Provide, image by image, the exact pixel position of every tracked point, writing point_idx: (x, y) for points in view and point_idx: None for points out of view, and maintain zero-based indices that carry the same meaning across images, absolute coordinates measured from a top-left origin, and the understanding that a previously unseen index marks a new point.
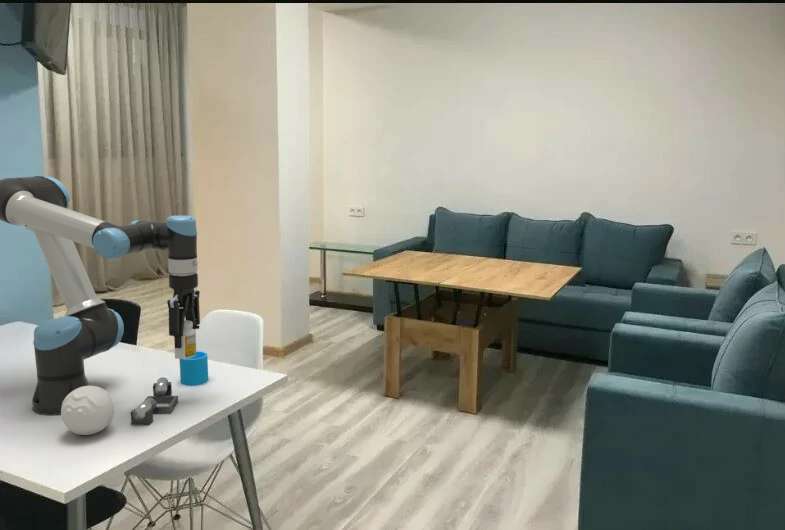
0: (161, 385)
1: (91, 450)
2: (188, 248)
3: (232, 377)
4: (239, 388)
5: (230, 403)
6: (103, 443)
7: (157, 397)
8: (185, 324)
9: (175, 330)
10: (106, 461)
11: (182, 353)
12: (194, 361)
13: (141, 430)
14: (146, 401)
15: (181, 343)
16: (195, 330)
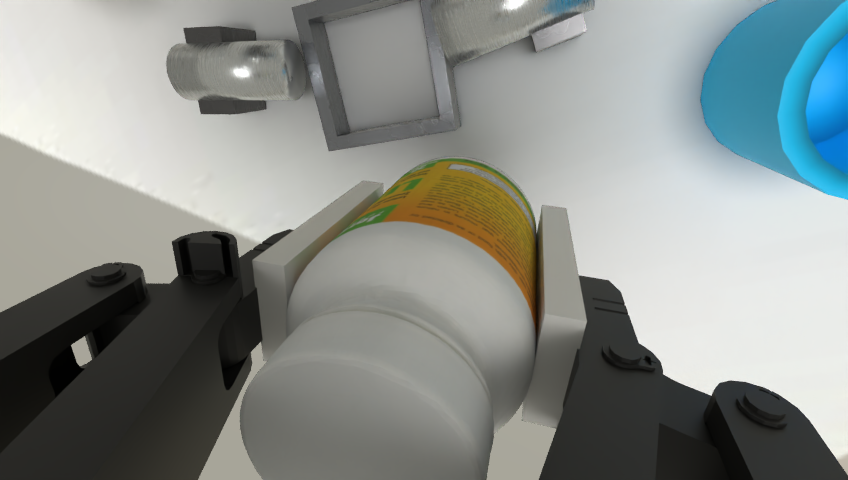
0: (445, 38)
1: (33, 8)
2: None
3: (831, 270)
4: (649, 329)
5: None
6: (80, 18)
7: (425, 30)
8: (262, 475)
9: (56, 382)
10: (15, 101)
11: None
12: (773, 138)
13: (197, 100)
14: (235, 72)
15: None
16: (553, 419)
